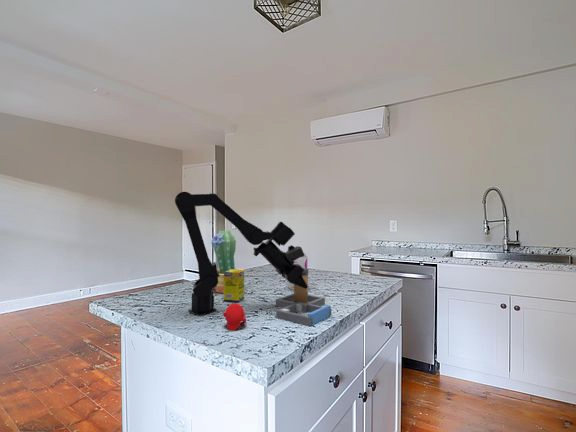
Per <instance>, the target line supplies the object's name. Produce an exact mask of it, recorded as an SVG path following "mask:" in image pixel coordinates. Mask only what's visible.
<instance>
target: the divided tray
mask: <svg viewBox="0 0 576 432" xmlns="http://www.w3.org/2000/svg"><path fill="white" fill-rule="evenodd" d="M323 304H324V305H323ZM275 306H276V307H281V308H280V309H279V308H278V309H276V311H275V318H276V319H280V320H284V321H289V322H292V323H295V324H300V325H304V326H307V327H312V326H313V325H315V324H317V323H319V322H321V321H324V320H325V319H328V318H329V317H331V316H332V308H331V305H330V304H326V298H325V297H322V296H318V295H312V294H308V303H302V302H294V293H291V294H288V295H285V296H282V297H279V298H276V299H275ZM296 312H298V313H296ZM301 312H303V313H307V312H308V314H307V315H303V314H299V313H301Z"/></svg>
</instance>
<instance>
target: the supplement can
mask: <svg viewBox="0 0 576 432" xmlns="http://www.w3.org/2000/svg"><path fill="white" fill-rule="evenodd" d="M303 253H304V256H303V257H300V258H298V259H296V260H294V262H295V263H294V264H298V265H300V266H301V267H302V268H307V269H308V256H307V253H305V252H303ZM287 282H288V281H287ZM287 285H288V286H287V287H288V288H289V289H290V291H292V290H293V291H294V284H293V283H290V282H288V284H287Z"/></svg>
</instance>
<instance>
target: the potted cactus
mask: <svg viewBox="0 0 576 432" xmlns="http://www.w3.org/2000/svg"><path fill="white" fill-rule="evenodd" d="M236 243H237V240H236V237H235V236H234V235H233V233H232V231H230V230H219V231H218V233H216V234H215V235H214V236H213V237H212V238H211V249H213V252H214V253H215V255H216V258H217V264H218V268H217V271H218V272H219V275H220V277H218V284H217V286H216V287H215V288H214V289H215V292H216V293H221V294H224V272H226V271H228V270H230V269H233V270H243V269H242V268H235V267H236V265H235V252H236V245H237V244H236Z"/></svg>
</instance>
